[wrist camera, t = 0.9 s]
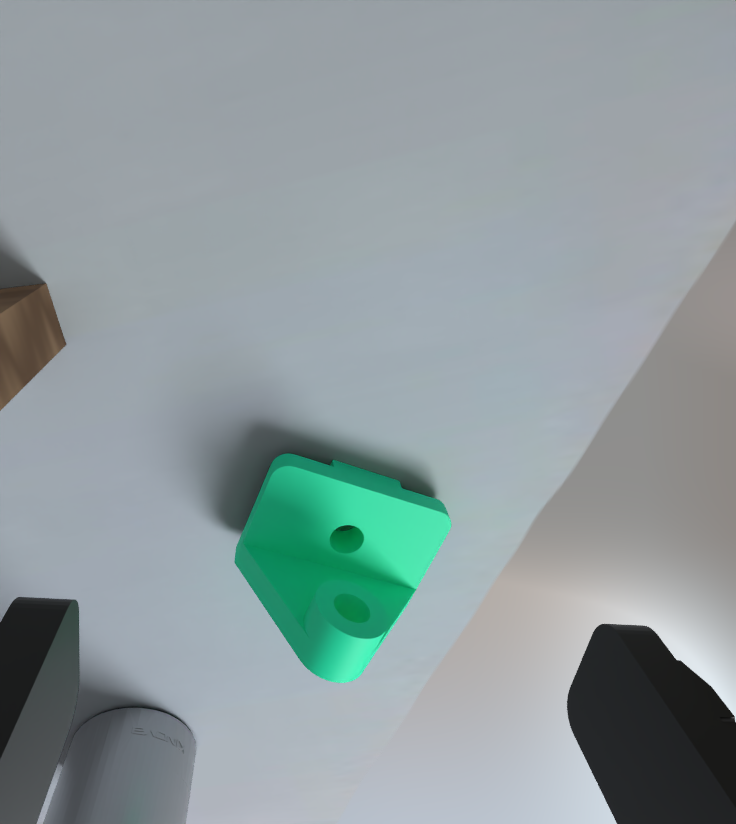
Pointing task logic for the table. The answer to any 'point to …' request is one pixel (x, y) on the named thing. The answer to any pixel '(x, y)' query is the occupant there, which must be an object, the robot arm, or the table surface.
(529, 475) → the table surface
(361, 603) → the camera mount
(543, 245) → the table surface
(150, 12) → the table surface
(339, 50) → the table surface
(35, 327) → the walnut bar
